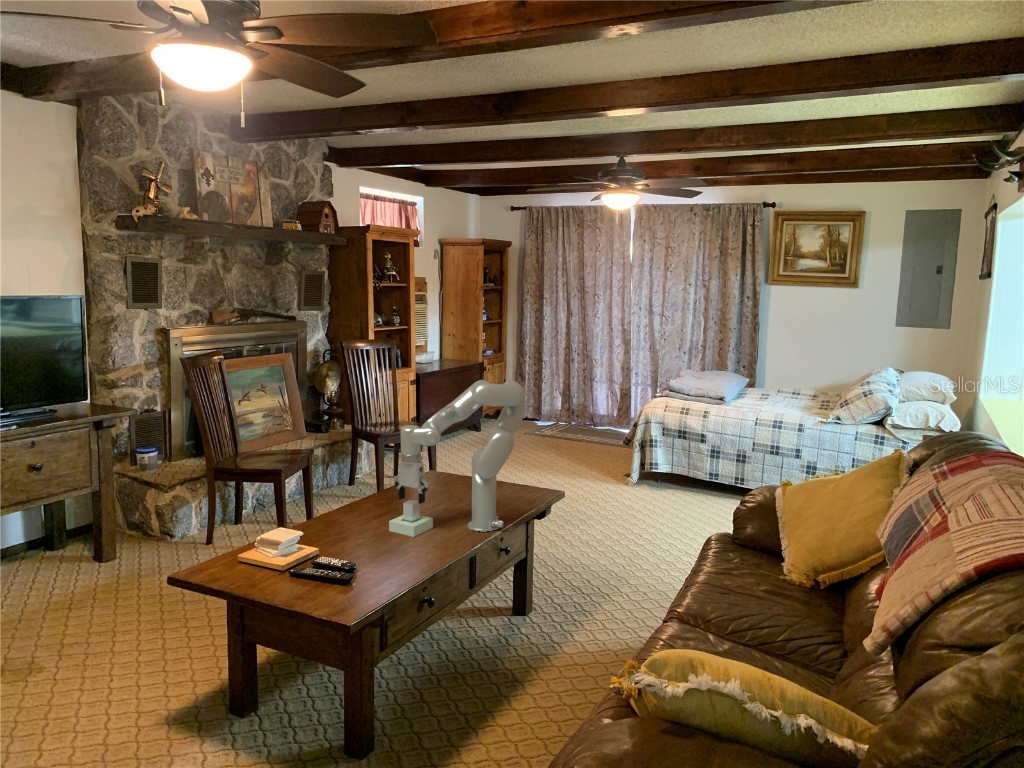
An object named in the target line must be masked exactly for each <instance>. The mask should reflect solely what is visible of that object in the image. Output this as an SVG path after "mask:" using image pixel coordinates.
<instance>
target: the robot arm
mask: <svg viewBox="0 0 1024 768" xmlns="http://www.w3.org/2000/svg"><path fill="white" fill-rule="evenodd" d="M482 406H485V407H503V408H502V410H501V412H500V414H499V416H498V417H497V420H495V421H494V423H493V425H492V427H491V428H490V429H489V431H488V433H487V436H486V438H487V444H486V445H485V447H480V448H478V449H476V450H475V451H474V452H473V453H472V456H471V521H469V522H468V523H467V528H468V529H469V530H471V531H473V530H474V532H478V531H480V533H488V532H487V531H490V532H494V531H493V530H495V531H496V530H498V529H500V528H501V529H502V528H503V527H504V524H505V523H504V520H500V519H499V515H497V475H498V474H499V472H500V471H501V469H502V468H503V467H504V464H505V463H506V462H507V460H508V458H509V457H510V455H511V453H512V452H513V450H514V447H515V437H514V435H515V433H516V431H517V430H518V428H519V425H520V424H521V422H522V421H523V419H524V416H525V413H526V391H525V389H524V387H523V386H522V385H521V384H520V383H519V382H517V381H515V380H506V381H505V382H504V383H501V384H499V383H490V382H489V381H487V380H485V379H479V380H477V381H475V382H473V384H471V386H469V387H468V388H467V389H465V390H464V391H463V392H461V394H459V395H458V396H457V397H456V398H455V399H453V400H452V401H451V402H450V403H448V404H447V405H446V406H443V408H441V409H440V410H438V411H437V412H436V413H434V414H433V415H432V416H431V417H430V418H428V419H427V420H426V421H425V422H424V423H423V424H422V426H421V427H419V426H418V425H415V424H414V425H413V424H409V425H403V426H401V428H400V461H399V465H398V474H397V475H395V476H393V477H392V479H393V482H394V485H395V487H396V490H397V491H398V500H400V501H401V500H403V499H406V488H413V489H416V490H417V491H418V497H417V498H418V500H417V501H418V502H419V505H420V504H423V503H425V502H426V492H427V491H428V490H430V489H429V488H430V486H431V482H430V481H428V479H426V471H425V466H424V462H423V456H421V455H422V453H421V452H422V451H421V449H422V447H421V446H425V447H434V446H436V445H438V444H439V443H440V442H441V436H442V435H441V434H442V433H443V432H444V431H445V430H447V429H448V428H449V427H451V426H452V425H453V424H456V423H459V422H462V421H465V420H467V419H468V418H469V417H470V416H472V415H473V414H474V413H475V412H476V411H477V410H479V409H480V407H482ZM405 487H406V488H405Z"/></svg>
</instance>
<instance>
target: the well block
mask: <svg viewBox="0 0 1024 768" xmlns="http://www.w3.org/2000/svg"><path fill="white" fill-rule="evenodd" d="M388 525H389V526H388V527H389V528H388V530H389V532H392V533H396V534H401V535H405V536H409V537H413V538H414V537H416V536H419V535H421V534H424V533H425V532H427V531H429V530H431V529H433V528H434V517H431V516H426V515H422V514H420V520H418V521H416V522H414V523H410V522H406V521H403V514H402V515H400V516H397V517H395V518H393V519H391V520H389V521H388Z"/></svg>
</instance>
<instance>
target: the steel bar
mask: <svg viewBox="0 0 1024 768" xmlns="http://www.w3.org/2000/svg"><path fill="white" fill-rule="evenodd" d="M402 505H403V509H402V511H403V513H402V515H403V521H406V522H410V523H414V522H416V521H418V520H420V515H421V514H420V504H419V502H418V500H413V499H409V500H407V501H404V502H403V504H402Z"/></svg>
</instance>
